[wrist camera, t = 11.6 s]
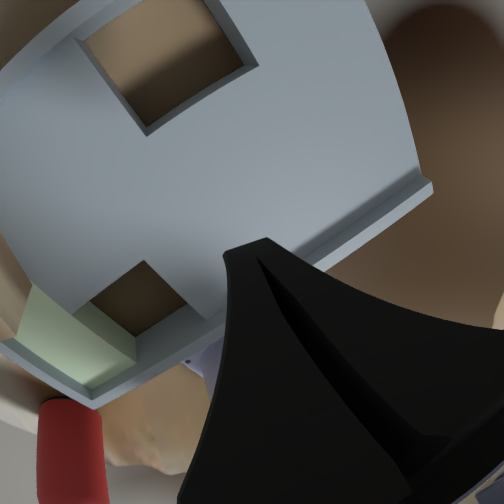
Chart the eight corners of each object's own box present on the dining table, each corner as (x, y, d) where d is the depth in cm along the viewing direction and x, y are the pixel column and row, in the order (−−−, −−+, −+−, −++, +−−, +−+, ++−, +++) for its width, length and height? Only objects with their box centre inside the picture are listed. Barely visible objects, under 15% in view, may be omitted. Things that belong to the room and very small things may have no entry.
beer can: (112, 408, 26) (127, 524, 17) (87, 432, 28) (97, 532, 18) (50, 386, 23) (49, 512, 13) (32, 413, 24) (31, 520, 14)
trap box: (401, 173, 22) (433, 193, 19) (93, 375, 23) (93, 410, 20) (291, -77, 10) (320, -97, 8) (-84, 220, 12) (-109, 248, 9)
